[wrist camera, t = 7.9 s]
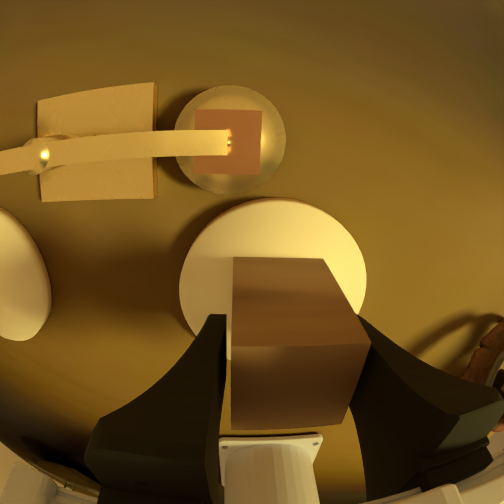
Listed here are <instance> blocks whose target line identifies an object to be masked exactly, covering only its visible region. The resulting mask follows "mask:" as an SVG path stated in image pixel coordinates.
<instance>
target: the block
mask: <svg viewBox="0 0 504 504" xmlns="http://www.w3.org/2000/svg"><path fill="white" fill-rule="evenodd" d="M370 345H371V340H370V339H369V337H368V335H367V333H366V331H365V330H364V328H363V326H362V324H361V322H360V321H359V319H358V317H357V315H356V314H355V312H354V310H353V308H352V307H351V305H350V303H349V301H348V300H347V298H346V296H345V294H344V293H343V291H342V289H341V288H340V286H339V284H338V282H337V281H336V279H335V277H334V276H333V274H332V272H331V271H330V269H329V267H328V266H327V264H326V262H325V261H324V259H321V258H272V257H233V287H232V323H231V430H267V429H290V428H305V427H317V426H327V425H336V424H341V423H342V421H343V419H344V416H345V414H346V411H347V409H348V406H349V404H350V401H351V399H352V396H353V394H354V391H355V388H356V386H357V383H358V380H359V377H360V375H361V372H362V369H363V366H364V363H365V360H366V357H367V354H368V351H369V348H370Z"/></svg>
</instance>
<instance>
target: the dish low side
mask: <svg viewBox="0 0 504 504" xmlns="http://www.w3.org/2000/svg"><path fill="white" fill-rule="evenodd" d="M233 257H272V258H321V259H324V261H325V262H326V264H327V266H328V267H329V269H330V271H331V272H332V274H333V276H334V277H335V279H336V281H337V282H338V284H339V286H340V288H341V289H342V291H343V293H344V294H345V296H346V298H347V300H348V301H349V303H350V305H351V307H352V308H353V310H354V312H355V313H356V314H358V313H359V311H360V308H361V306H362V303H363V300H364V296H365V290H366V270H365V264H364V260H363V257H362V254H361V252H360V250H359V247H358V245H357V244H356V242H355V241H354V239H353V238H352V236H351V235H350V234H349V233H348V231H347V230H346V229H345V228H344V227H343V226H342V225H341V224H340V223H339V222H338V221H337V220H336V219H335V218H333V217H332V216H331V215H330V214H328V213H327V212H325V211H324V210H322V209H320V208H319V207H317V206H314V205H312V204H309V203H307V202H304V201H300V200H296V199H291V198H282V197H273V198H261V199H255V200H251V201H248V202H244V203H241V204H239V205H236V206H234V207H232V208H230V209H228V210H226V211H225V212H223V213H221V214H220V215H218V216H217V217H216V218H214V219H213V220H212V221H211V222H209V223H208V224H207V225H206V226H205V228H204V229H203V230H202V231H201V232H200V233H199V234H198V236H197V237H196V239H195V240H194V242H193V243H192V245H191V247H190V249H189V251H188V254H187V256H186V259H185V262H184V265H183V268H182V271H181V276H180V282H179V297H180V304H181V308H182V311H183V314H184V317H185V319H186V321H187V323H188V325H189V327H190V328H191V330H192V331H193V333H194V334H195V335H196V336H197V335H198V333H199V332H200V330H201V328H202V327H203V325H204V323H205V321H206V319H207V317H208V315H210V314H227V359H229V360H231V323H232V287H233Z"/></svg>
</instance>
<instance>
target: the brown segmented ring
mask: <svg viewBox="0 0 504 504" xmlns="http://www.w3.org/2000/svg"><path fill="white" fill-rule="evenodd" d="M503 361H504V318H502V321H501V322H500V323H499V324H498V325H497V326H495V327H494V328H493V329H492V330H491V331H490V332H489V333H488V334H487V335H486V336H485V337H483V338H482V339H481V341H480V348H478V349H476V350H475V352H474V354H473V355H472V357H471V360H470V363H469V365H468V367H467V369H466V371H465V373H464V374H463V375H462V376H461V377H460V379H463V380H466V381H469V382H473V383H476V384H481V385H485V386H489V387H494V388H496V389H497V390H498V392H499V393H500V395H501V396H502V398H503V399H504V370H503V369H500V370H499V368H500V366H501V365H502V363H503ZM498 370H499V371H498ZM491 431H493V432H501V431H504V413H503V415H502V417H501V418H500V420H499V421H498V422H497V424H496V425H495V426H494V427H493V429H492V430H491Z"/></svg>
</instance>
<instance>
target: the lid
mask: <svg viewBox="0 0 504 504" xmlns="http://www.w3.org/2000/svg"><path fill="white" fill-rule="evenodd" d="M28 461H29V463H30V464H32V465H34V466H36V467H37V468H39V469H41V470H43V471H45V472H46V473H48V474H50V475H52V476H54V477H56V478H58V479H60V480H62V481H64V482H66V484H65V486H64V488H66V487H67V486H71V489H72V491H75V486H76V487H78V488H81V489H83V490H85V491H88V492H90V493H93V494H95V495H98V496H99V492H100V488H101V485H100V484H98V483H97V482H95V481H93V480H92V479H90V478H89V477H87V476H85V475H83V474H82V473H80V472H79V471H78V470H76V469H74V468H69V467H66V466H64V465H61V464H57V463H53V462H50V461H43V460H36V459H28Z"/></svg>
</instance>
